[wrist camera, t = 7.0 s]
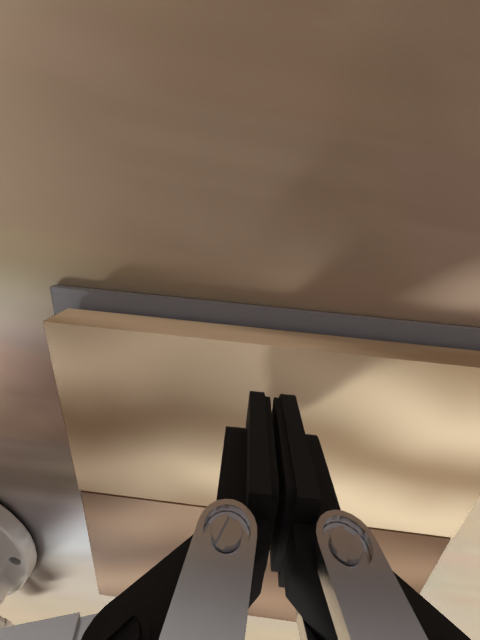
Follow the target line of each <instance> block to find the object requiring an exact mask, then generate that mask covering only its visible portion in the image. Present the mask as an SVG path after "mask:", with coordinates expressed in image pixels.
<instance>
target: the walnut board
mask: <svg viewBox="0 0 480 640" xmlns="http://www.w3.org/2000/svg"><path fill="white" fill-rule="evenodd" d="M81 497H82V503H83V508H84V513H85V519H86V524H87V530H88V535H89V541H90V546H91V552H92V557H93V563H94V568H95V574H96V579H97V584H98V590H99V594H101V595H108V596H115V597H117V596H118V595H120V594H121V593H122V592H123V591H124V590H126V589H127V588H128V587H129V586H131V585H132V584H133V583H134V582H135V581H137V580H138V579H139V578H140V577H142V576H143V575H144V574H145V573H146V572H148V571H149V570H150V569H151V568H153V567H154V566H155V565H156V564H157V563H159V562H160V561H161V560H162V559H164V558H165V557H166V556H167V555H169V554H170V553H171V552H172V551H173V550H175V549H176V548H177V547H178V546H180V545H181V544H182V543H183V542H184V541H186V540H187V539H188V538H189V537H191V536H192V535H193V534H194V531H195V528H196V525H197V522H198V519H199V517H200V515H201V513H202V511H203V510H204V509H205V508H206V507H207V506H201V505H193V504H185V503H177V502H169V501H161V500H154V499H146V498H138V497H130V496H122V495H114V494H107V493H99V492H91V491H83V490H82V491H81ZM368 528H369V529H370V531H371V532H372V534H373V535H374V537H375V538H376V540H377V542H378V544H379V546H380V548H381V550H382V552H383V554H384V555H385V557H386V559H387V561H388V563H389V565H390V567H391V569H392V571H394V572H395V573H396V574H397V575H398V576H399V577H400V578H402V579H403V580H404V581H405V582H406V583H407V584H408V585H410V586H411V587H412V588H413V589H414V590H415V591H416V592H417V593H420V592H421V590H422V588H423V586H424V585H425V583H426V581H427V579H428V578H429V576H430V574H431V572H432V570H433V569H434V567H435V565H436V563H437V562H438V560H439V558H440V556H441V555H442V553H443V551H444V549H445V548H446V546H447V544H448V542H449V541H450V538H449V537H444V536H436V535H428V534H420V533H413V532H405V531H397V530H389V529H381V528H373V527H368ZM248 615H250V616H257V617H265V618H272V619H279V620H286V621H293V622H297V621H296V612H295V608H294V606H293V605H292V604H291V603H290V601H289V600H288V599H287V598H286V596H285V588H283V587H279V586H278V572H271V566H270V551H269V556H268V562H267V567H266V571H265V573H264V578H263V584H262V589H261V594H260V595H259V596H258V598H257V599H256V600H255V601H254V603H253V604H252V605H251V606H250V607H249V609H248Z"/></svg>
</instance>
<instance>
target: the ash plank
mask: <svg viewBox="0 0 480 640" xmlns="http://www.w3.org/2000/svg"><path fill="white" fill-rule="evenodd" d="M43 325H44V329H45V334H46V339H47V344H48V348H49V353H50V358H51V362H52V367H53V372H54V376H55V381H56V386H57V390H58V395H59V400H60V404H61V409H62V414H63V418H64V423H65V428H66V432H67V437H68V442H69V446H70V451H71V456H72V460H73V465H74V470H75V475H76V479H77V484H78V489H79V490H83V491H91V492H99V493H107V494H114V495H122V496H130V497H138V498H146V499H154V500H161V501H169V502H177V503H185V504H193V505H201V506H208V505H209V504H211V503H213V502H215V501H216V500H217V492H218V484H219V476H220V468H221V460H222V453H223V445H224V437H225V429H226V426H230V427H240V428H245V427H246V419H247V410H248V401H249V393H250V391H257V392H264V393H265V396H267V397H270V400H271V410H272V407H273V400H274V397H277V398H279V396H280V394H288V395H295V396H296V399H297V403H298V407H299V411H300V415H301V419H302V423H303V427H304V431H305V434H311V435H317V436H318V438H319V441H320V444H321V447H322V450H323V454H324V457H325V460H326V463H327V467H328V470H329V473H330V476H331V480H332V483H333V486H334V489H335V493H336V496H337V499H338V503H339V506H340V509H341V510H342V511H345V512H348V513H350V514H352V515H354V516H355V517H357V518H358V519H360V520H361V521H362V522H363V523H364V524H365V525H366V526H367V527H373V528H381V529H389V530H397V531H405V532H413V533H420V534H428V535H436V536H444V537H452V538H454V536H455V535H456V533H457V532H458V530H459V528H460V527H461V525H462V524H463V522H464V520H465V519H466V517H467V516H468V514H469V512H470V511H471V509H472V508H473V506H474V504H475V503H476V501H477V499H478V498H479V496H480V351H476V350H466V349H457V348H447V347H438V346H428V345H418V344H409V343H399V342H390V341H380V340H370V339H361V338H351V337H341V336H332V335H322V334H313V333H303V332H293V331H284V330H274V329H265V328H255V327H245V326H236V325H226V324H216V323H207V322H197V321H188V320H178V319H168V318H159V317H149V316H139V315H130V314H120V313H111V312H101V311H91V310H82V309H72V308H68V309H66V310H64V311H62V312H60V313H58V314H56V315H54V316H52V317H51V318H49V319H47V320H45V321H43Z"/></svg>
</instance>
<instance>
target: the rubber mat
mask: <svg viewBox="0 0 480 640" xmlns="http://www.w3.org/2000/svg"><path fill="white" fill-rule="evenodd" d="M50 291H51V297H52V302H53V308H54V314H55V315H56V314H58V313H60V312H62V311H64V310H66V309H68V308H72V309H82V310H91V311H101V312H111V313H120V314H130V315H139V316H149V317H159V318H168V319H178V320H188V321H197V322H207V323H216V324H226V325H236V326H245V327H255V328H265V329H274V330H284V331H293V332H303V333H313V334H322V335H332V336H341V337H351V338H361V339H370V340H380V341H390V342H399V343H409V344H418V345H428V346H438V347H447V348H457V349H466V350H476V351H480V328H478V327H468V326H459V325H449V324H439V323H429V322H419V321H409V320H399V319H389V318H379V317H370V316H360V315H350V314H340V313H330V312H320V311H310V310H300V309H290V308H281V307H271V306H261V305H251V304H241V303H231V302H221V301H211V300H201V299H192V298H182V297H172V296H162V295H152V294H142V293H132V292H122V291H112V290H103V289H93V288H83V287H73V286H63V285H54V286H51V287H50Z"/></svg>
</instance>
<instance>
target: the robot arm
mask: <svg viewBox="0 0 480 640" xmlns="http://www.w3.org/2000/svg"><path fill="white" fill-rule="evenodd" d="M269 551H270V566H271V572H278V586H279V587H283V588H285V596H286V598H287V599H288V600H289V601H290V603H291V604H292V605H293V606H294V608H295V612H296V621H297V626H298V630H299V635H300V639H301V640H471V639H470V638H469V637H467V636H466V635H465V634H464V633H463V632H462V631H461V630H460V629H458V628H457V627H456V626H455V625H454V624H453V623H452V622H450V621H449V620H448V619H447V618H446V617H445V616H444V615H442V614H441V613H440V612H439V611H438V610H437V609H436V608H435V607H433V606H432V605H431V604H430V603H429V602H428V601H427V600H425V599H424V598H423V597H422V596H421V595H420V594H419V593H417V592H416V591H415V590H414V589H413V588H412V587H411V586H410V585H408V584H407V583H406V582H405V581H404V580H403V579H402V578H400V577H399V576H398V575H397V574H396V573H395V572H394V571H392V569H391V567H390V565H389V563H388V561H387V559H386V557H385V555H384V554H383V552H382V550H381V548H380V546H379V544H378V542H377V540H376V538H375V537H374V535H373V534H372V532H371V531H370V529H369V528H368V527H367V526H366V525H365V524H364V523H363V522H362V521H361V520H360V519H358V518H357V517H355V516H354V515H352V514H350V513H348V512H345V511H342V510H341V509H340V506H339V503H338V499H337V496H336V493H335V489H334V486H333V483H332V480H331V476H330V473H329V470H328V467H327V463H326V460H325V457H324V454H323V450H322V447H321V444H320V441H319V438H318V436H317V435H311V434H305V431H304V427H303V423H302V419H301V415H300V411H299V407H298V403H297V399H296V396H295V395H288V394H280V396H279V398H277V397H274V400H273V407H272V410H271V400H270V397H267V396H265V393H264V392H257V391H250V393H249V401H248V410H247V419H246V427H245V428H240V427H230V426H226V429H225V437H224V445H223V453H222V460H221V468H220V476H219V484H218V492H217V500H216V501H215V502H213V503H211V504H209V505H208V506H207V507H206V508H205V509H204V510H203V511H202V513H201V515H200V517H199V519H198V522H197V525H196V528H195V531H194V534H193V535H192V536H191V537H189V538H188V539H187V540H186V541H184V542H183V543H182V544H181V545H180V546H178V547H177V548H176V549H175V550H173V551H172V552H171V553H170V554H169V555H167V556H166V557H165V558H164V559H162V560H161V561H160V562H159V563H157V564H156V565H155V566H154V567H153V568H151V569H150V570H149V571H148V572H146V573H145V574H144V575H143V576H142V577H140V578H139V579H138V580H137V581H135V582H134V583H133V584H132V585H131V586H129V587H128V588H127V589H126V590H124V591H123V592H122V593H121V594H120V595H118V596H117V597H116V598H115V599H113V600H112V601H111V602H110V603H109V604H107V605H106V606H105V607H104V608H103V609H102V610H101V611H100V612H99V613H98V614H93V615H88V616H83V617H80V613H74V614H69V615H64V616H59V617H54V618H49V619H44V620H39V621H34V622H30V623H25V624H20V625H14V624H12V623H11V622H10V621H9V620H7V619H6V618H3V617H1V616H0V640H245V632H246V623H247V615H248V609H249V607H250V606H251V605H252V604H253V603H254V601H255V600H256V599H257V598H258V596H259V595H260V594H261V589H262V584H263V578H264V573H265V571H266V567H267V562H268V556H269ZM36 560H37V553H36V548H35V543H34V541H33V539H32V537H31V535H30V533H29V532H28V531H27V529H26V528H25V527H24V525H23V524H22V523H21V522H20V521H19V520H18V519H17V518H16V517H15V516H14V515H13V514H12V513H11V512H10V511H9V510H7V509H6V508H5V507H4V506H2V505H1V504H0V605H1V604H2V602H3V601H4V599H5V598H6V596H7V595H10V594H13V593H14V592H16V591H17V590H19V589H20V588H21V587H22V586H23V585H24V583H25V582H26V581H27V579H28V577H29V576H30V574H31V573H32V571H33V569H34V567H35V565H36Z"/></svg>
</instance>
